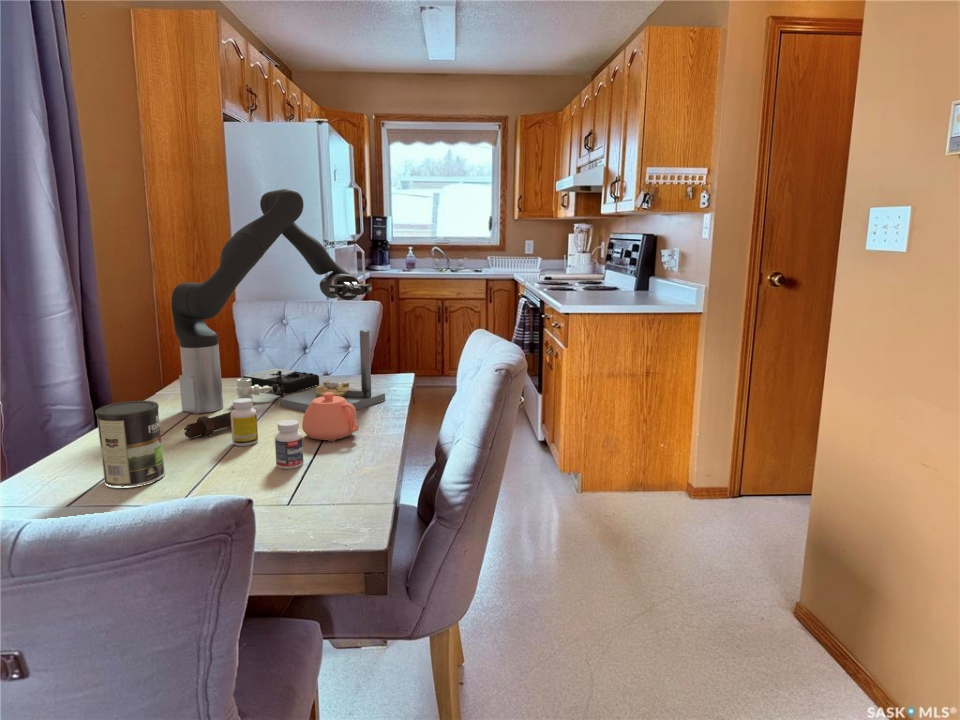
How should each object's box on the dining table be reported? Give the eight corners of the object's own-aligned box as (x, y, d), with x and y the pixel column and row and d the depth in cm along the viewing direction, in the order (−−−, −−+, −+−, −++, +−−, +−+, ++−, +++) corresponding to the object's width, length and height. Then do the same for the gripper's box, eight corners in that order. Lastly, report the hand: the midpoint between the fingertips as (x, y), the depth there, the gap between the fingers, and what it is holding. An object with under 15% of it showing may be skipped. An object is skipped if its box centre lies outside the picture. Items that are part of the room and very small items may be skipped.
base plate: (333, 417, 161) (333, 408, 161) (279, 405, 172) (279, 397, 171) (385, 400, 178) (384, 392, 177) (333, 390, 188) (333, 383, 188)
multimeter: (288, 395, 184) (287, 378, 183) (242, 387, 193) (241, 371, 192) (320, 386, 195) (319, 370, 194) (275, 379, 204) (274, 363, 203)
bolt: (186, 447, 144) (244, 428, 156) (196, 440, 141) (254, 422, 153) (177, 424, 145) (234, 407, 157) (186, 416, 142) (244, 400, 154)
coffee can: (169, 466, 127) (162, 398, 124) (159, 486, 117) (152, 412, 115) (111, 471, 124) (103, 402, 121) (97, 492, 114) (87, 416, 112)
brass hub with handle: (311, 398, 170) (307, 332, 167) (323, 390, 179) (320, 327, 176) (366, 400, 169) (364, 333, 165) (375, 392, 177) (374, 328, 174)
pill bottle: (288, 471, 125) (286, 428, 123) (270, 466, 127) (268, 423, 126) (309, 463, 129) (307, 421, 127) (291, 458, 132) (289, 417, 130)
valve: (239, 406, 171) (284, 401, 176) (237, 382, 170) (283, 378, 175) (236, 400, 177) (280, 396, 182) (234, 377, 176) (279, 373, 181)
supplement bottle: (262, 443, 141) (259, 400, 139) (238, 448, 138) (234, 404, 136) (252, 437, 145) (249, 395, 143) (228, 442, 142) (225, 399, 140)
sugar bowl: (326, 425, 155) (324, 384, 153) (374, 433, 149) (372, 391, 147) (291, 439, 144) (288, 396, 142) (340, 449, 138) (339, 403, 136)
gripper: (322, 274, 191) (332, 278, 175) (366, 274, 196) (379, 277, 180) (323, 299, 192) (333, 305, 177) (366, 298, 198) (380, 303, 182)
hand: (357, 291), depth 179 cm, fingers closed
